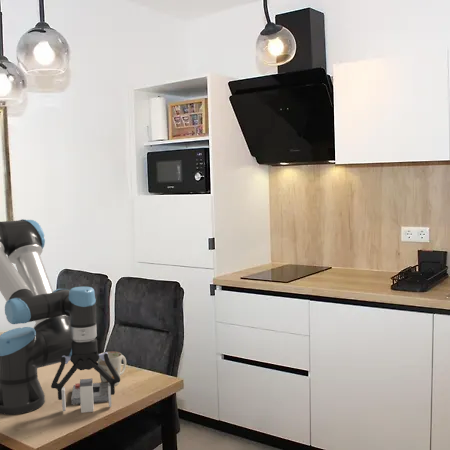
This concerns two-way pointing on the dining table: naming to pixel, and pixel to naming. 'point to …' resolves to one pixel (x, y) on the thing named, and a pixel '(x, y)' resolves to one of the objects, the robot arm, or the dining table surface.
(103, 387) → the socket plate
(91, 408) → the plug
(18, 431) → the dining table surface
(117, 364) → the mug
